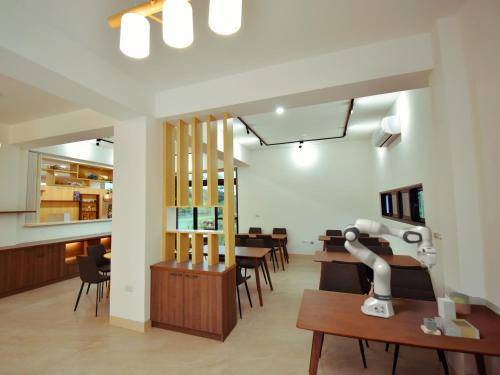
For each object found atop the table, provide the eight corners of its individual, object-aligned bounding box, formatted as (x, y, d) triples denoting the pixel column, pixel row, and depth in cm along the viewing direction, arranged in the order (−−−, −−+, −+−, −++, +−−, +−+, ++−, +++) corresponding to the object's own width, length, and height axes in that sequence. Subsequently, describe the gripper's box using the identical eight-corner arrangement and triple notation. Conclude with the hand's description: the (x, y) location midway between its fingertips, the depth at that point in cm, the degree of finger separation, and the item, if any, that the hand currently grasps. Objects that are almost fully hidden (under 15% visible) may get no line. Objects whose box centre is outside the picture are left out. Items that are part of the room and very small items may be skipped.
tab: (425, 333, 148) (425, 330, 148) (421, 328, 155) (420, 324, 155) (440, 335, 146) (440, 331, 146) (435, 329, 153) (435, 326, 153)
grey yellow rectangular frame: (446, 335, 145) (445, 326, 146) (435, 324, 159) (434, 316, 159) (479, 339, 141) (478, 330, 141) (465, 327, 155) (464, 319, 155)
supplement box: (456, 320, 164) (455, 301, 165) (444, 319, 165) (443, 301, 166) (450, 315, 171) (448, 297, 172) (438, 315, 172) (437, 297, 173)
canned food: (450, 307, 185) (448, 291, 186) (469, 310, 179) (467, 294, 180) (451, 312, 176) (450, 295, 177) (472, 316, 170) (470, 299, 171)
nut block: (427, 329, 149) (427, 321, 149) (424, 325, 153) (423, 317, 154) (436, 330, 147) (436, 322, 148) (433, 326, 152) (432, 318, 153)
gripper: (413, 246, 178) (415, 264, 177) (426, 251, 158) (428, 272, 157) (423, 246, 176) (424, 265, 175) (437, 251, 157) (439, 272, 156)
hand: (426, 268), depth 166 cm, fingers open, 8 cm apart
